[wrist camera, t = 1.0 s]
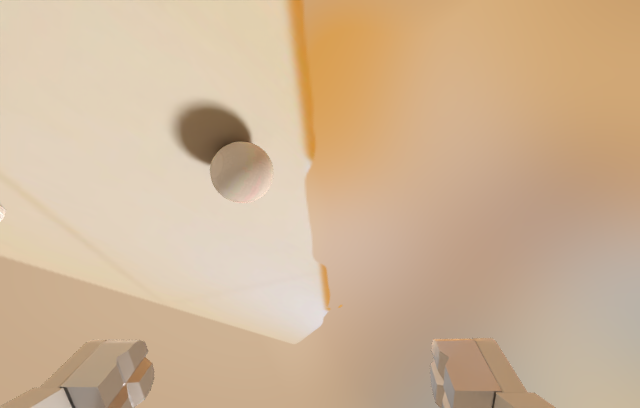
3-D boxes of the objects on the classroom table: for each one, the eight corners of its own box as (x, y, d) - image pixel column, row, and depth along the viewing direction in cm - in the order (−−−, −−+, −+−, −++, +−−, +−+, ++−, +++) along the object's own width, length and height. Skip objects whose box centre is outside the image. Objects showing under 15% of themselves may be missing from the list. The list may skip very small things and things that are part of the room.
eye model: (245, 180, 61) (262, 218, 55) (193, 168, 54) (206, 211, 48) (272, 139, 56) (293, 177, 51) (220, 120, 49) (238, 161, 44)
